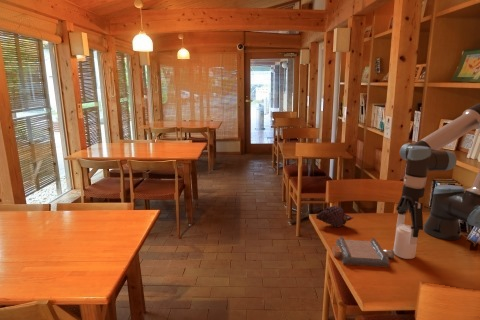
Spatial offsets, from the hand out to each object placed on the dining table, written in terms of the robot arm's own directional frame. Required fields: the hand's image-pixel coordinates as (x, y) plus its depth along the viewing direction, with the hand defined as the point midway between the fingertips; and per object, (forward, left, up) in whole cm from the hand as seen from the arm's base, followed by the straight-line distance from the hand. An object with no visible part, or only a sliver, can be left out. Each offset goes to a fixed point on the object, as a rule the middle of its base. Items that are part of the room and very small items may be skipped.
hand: (405, 236), depth 135 cm
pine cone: (+24, -25, -9) cm, 36 cm away
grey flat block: (+18, +3, -8) cm, 20 cm away
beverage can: (0, 0, -9) cm, 9 cm away
